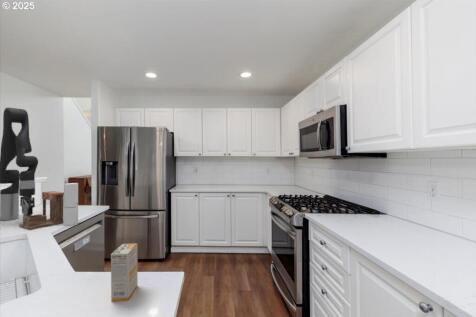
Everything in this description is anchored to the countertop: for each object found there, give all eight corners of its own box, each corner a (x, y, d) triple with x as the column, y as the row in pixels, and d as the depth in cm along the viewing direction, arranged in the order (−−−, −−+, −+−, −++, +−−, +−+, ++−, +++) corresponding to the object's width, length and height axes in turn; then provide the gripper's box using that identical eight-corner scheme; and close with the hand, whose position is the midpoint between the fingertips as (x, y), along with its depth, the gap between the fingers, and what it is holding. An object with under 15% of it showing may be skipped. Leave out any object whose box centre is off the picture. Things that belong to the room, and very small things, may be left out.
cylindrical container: (80, 223, 151) (80, 183, 152) (71, 226, 144) (72, 184, 144) (70, 222, 152) (70, 183, 152) (60, 225, 145) (61, 184, 145)
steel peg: (22, 223, 150) (22, 204, 150) (30, 222, 154) (30, 203, 154) (24, 224, 148) (24, 205, 148) (32, 223, 152) (32, 204, 152)
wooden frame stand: (18, 226, 143) (18, 194, 143) (53, 220, 158) (53, 191, 159) (29, 230, 136) (30, 196, 136) (64, 223, 151) (64, 192, 151)
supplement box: (121, 286, 74) (121, 243, 74) (138, 285, 74) (138, 242, 75) (109, 301, 66) (109, 253, 66) (128, 301, 66) (128, 253, 66)
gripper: (14, 188, 151) (14, 213, 151) (24, 188, 144) (24, 216, 144) (29, 186, 158) (29, 211, 158) (39, 187, 151) (39, 213, 150)
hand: (27, 213), depth 151 cm, fingers open, 8 cm apart
